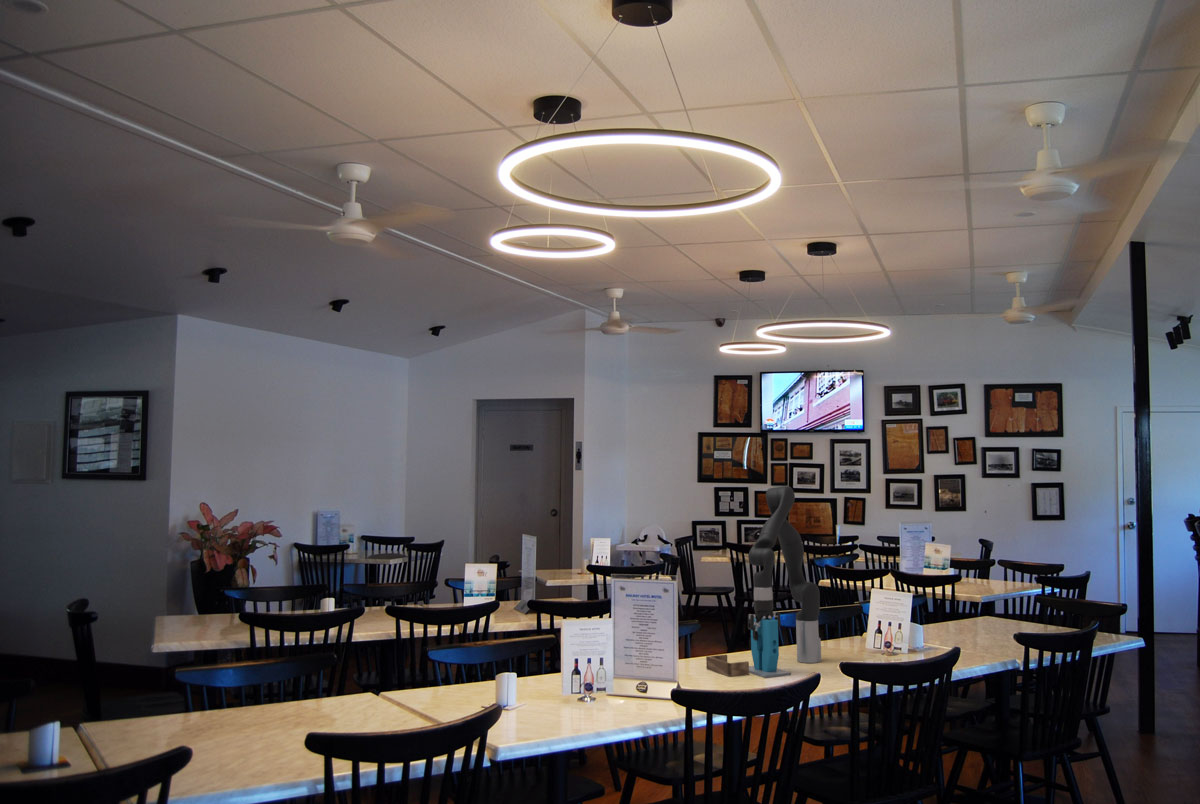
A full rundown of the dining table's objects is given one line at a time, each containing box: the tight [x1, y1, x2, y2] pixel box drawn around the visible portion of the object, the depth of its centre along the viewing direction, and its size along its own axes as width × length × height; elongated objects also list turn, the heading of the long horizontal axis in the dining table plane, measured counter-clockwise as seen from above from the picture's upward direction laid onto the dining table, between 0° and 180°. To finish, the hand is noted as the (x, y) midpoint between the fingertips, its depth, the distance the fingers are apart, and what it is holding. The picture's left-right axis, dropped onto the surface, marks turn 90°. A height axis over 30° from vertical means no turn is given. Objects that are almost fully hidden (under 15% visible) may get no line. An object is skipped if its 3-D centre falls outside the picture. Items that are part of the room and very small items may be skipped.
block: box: [750, 618, 780, 672], centre depth 363 cm, size 12×5×20 cm, turn 31°
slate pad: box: [749, 665, 792, 679], centre depth 362 cm, size 12×18×1 cm, turn 24°
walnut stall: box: [705, 654, 750, 678], centre depth 364 cm, size 9×17×5 cm, turn 24°
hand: (765, 639), depth 363 cm, fingers open, 8 cm apart
